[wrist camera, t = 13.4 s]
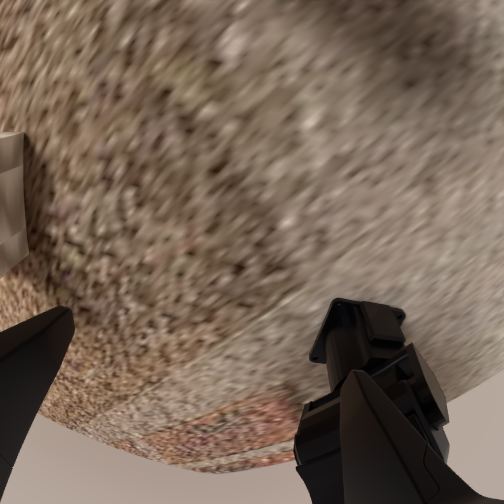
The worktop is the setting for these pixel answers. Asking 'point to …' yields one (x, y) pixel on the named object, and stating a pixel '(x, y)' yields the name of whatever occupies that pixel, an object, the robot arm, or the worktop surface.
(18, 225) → the socket block
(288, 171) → the worktop surface
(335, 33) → the worktop surface
